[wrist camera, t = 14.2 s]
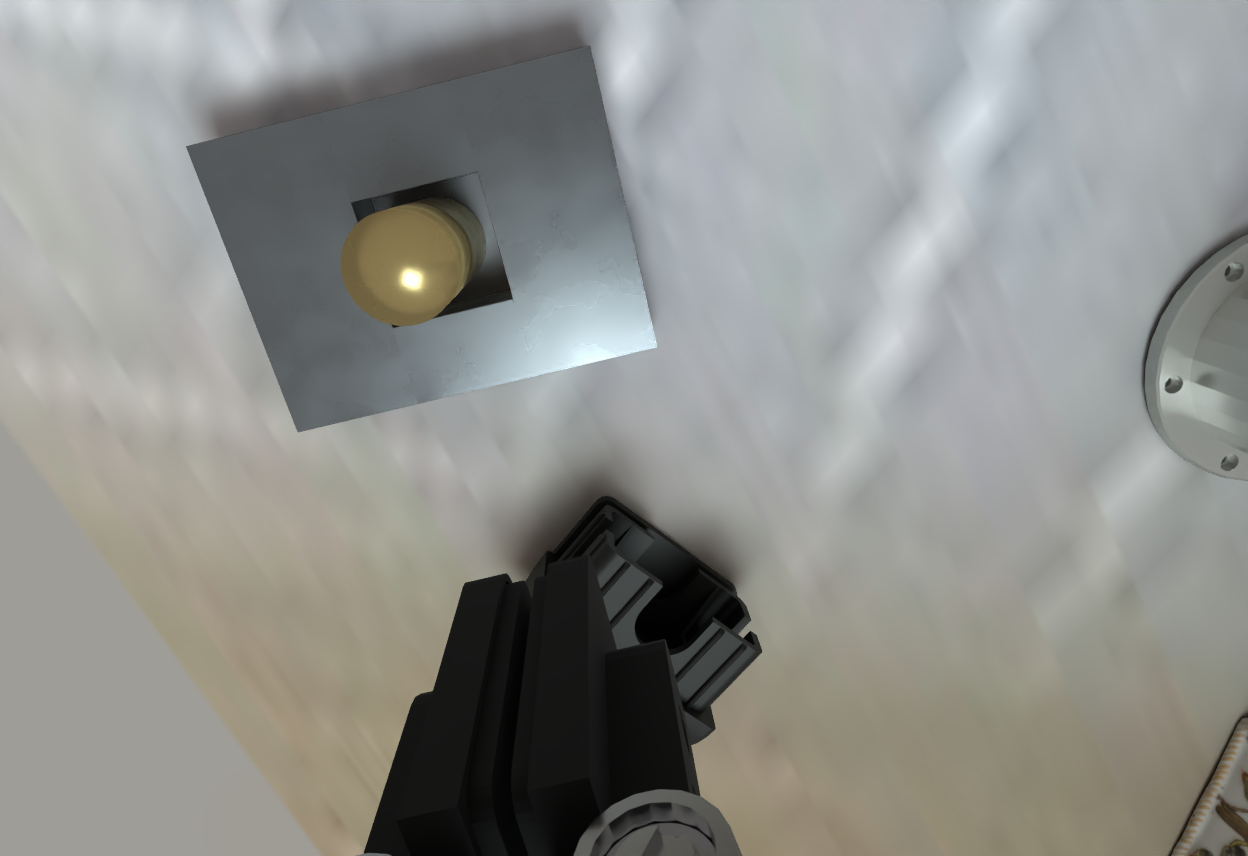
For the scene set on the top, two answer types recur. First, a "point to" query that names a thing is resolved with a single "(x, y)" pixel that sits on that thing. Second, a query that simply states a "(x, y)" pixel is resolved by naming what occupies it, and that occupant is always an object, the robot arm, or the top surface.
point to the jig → (413, 157)
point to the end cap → (663, 604)
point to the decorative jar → (1222, 806)
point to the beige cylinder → (412, 259)
